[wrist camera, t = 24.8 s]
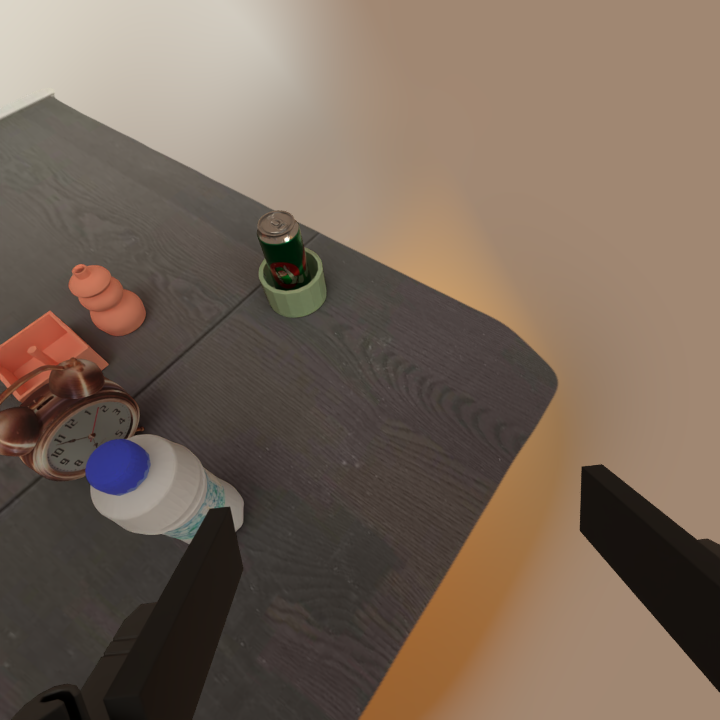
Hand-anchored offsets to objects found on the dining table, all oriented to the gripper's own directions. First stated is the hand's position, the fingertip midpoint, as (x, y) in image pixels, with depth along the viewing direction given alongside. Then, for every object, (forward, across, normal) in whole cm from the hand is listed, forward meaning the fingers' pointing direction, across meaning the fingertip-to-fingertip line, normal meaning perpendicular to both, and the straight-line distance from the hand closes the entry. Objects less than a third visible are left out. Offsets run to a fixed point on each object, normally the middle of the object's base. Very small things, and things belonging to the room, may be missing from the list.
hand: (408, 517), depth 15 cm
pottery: (+41, -37, +2) cm, 55 cm away
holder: (+45, -9, +6) cm, 46 cm away
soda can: (+44, -9, +6) cm, 46 cm away
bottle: (+24, -18, -15) cm, 33 cm away
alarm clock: (+31, -31, -8) cm, 44 cm away
